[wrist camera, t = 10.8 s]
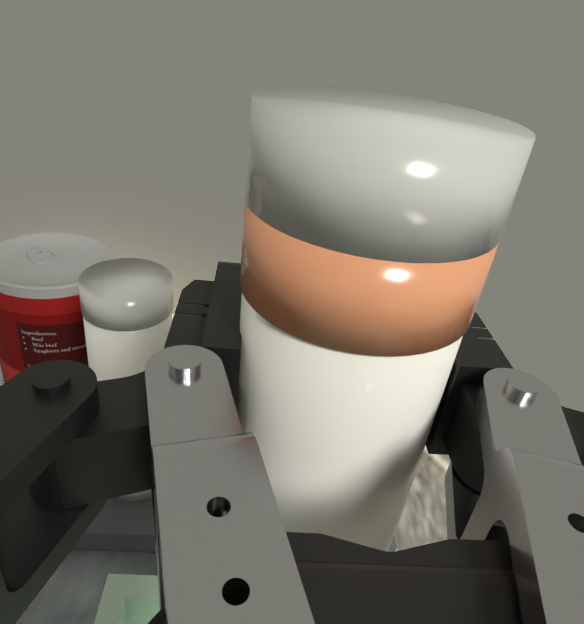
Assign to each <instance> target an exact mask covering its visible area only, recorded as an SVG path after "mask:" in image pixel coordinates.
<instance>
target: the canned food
mask: <svg viewBox="0 0 584 624" xmlns="http://www.w3.org/2000/svg"><path fill="white" fill-rule="evenodd" d="M111 259H116V256H115V254H114V251H113V250H112V249H111V248H110V247H109V246H107V245H106V244H105V243H103V242H101V241H99V240H96V239H93V238H90V237H86V236H81V235H77V234H69V233H37V234H30V235H24V236H19V237H15V238H12V239H9V240H6V241H3V242H1V243H0V364H1V369H2V373H3V377H4V381H5V383H6V382H7V381H8V380H10V379H11V378H12V377H14V376H15V375H16V374H18V373H19V372H21V371H22V370H24V369H26V368H28V367H30V366H33V365H35V364H38V363H42V362H46V361H52V360H71V361H77V362H80V363H83V364H85V365H87V366H89V365H88V356H87V347H86V339H85V330H84V321H83V315H82V313H81V306H80V297H79V288H78V277H79V275H80V274H81V272H82V271H84V270H85V269H86V268H88V267H89V266H91V265H93V264H96V263H99V262H102V261H106V260H111Z"/></svg>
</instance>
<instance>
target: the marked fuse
mask: <svg viewBox="0 0 584 624" xmlns="http://www.w3.org/2000/svg"><path fill="white" fill-rule="evenodd" d="M250 119H251V120H250V133H249V149H248V164H247V180H246V195H245V209H244V225H243V239H242V256H241V270H240V287H241V290H242V297H241V312H240V333H241V337H242V342H241V356H240V370H239V383H238V397H237V413H238V417H239V420H240V424H241V427H242V431H243V433H246V432H252V433H253V434H254V436H255V438H256V440H257V443H258V446H259V449H260V452H261V455H262V458H263V462H264V465H265V468H266V471H267V474H268V477H269V480H270V484H271V487H272V490H273V493H274V496H275V499H276V503H277V506H278V509H279V512H280V515H281V518H282V521H283V525H284V528H285V531H286V532H300V533H321V534H325V535H328V536H332V537H335V538H339V539H343V540H346V541H350V542H353V543H357V544H361V545H364V546H368V547H371V548H375V549H379V550H382V551H387V552H388V551H389V548H390V545H391V542H392V539H393V537H394V534H395V531H396V528H397V525H398V522H399V519H400V516H401V513H402V511H403V508H404V505H405V502H406V499H407V496H408V493H409V490H410V487H411V485H412V482H413V479H414V476H415V473H416V470H417V467H418V464H419V461H420V459H421V456H422V453H423V450H424V447H425V444H426V441H427V438H428V435H429V433H430V430H431V427H432V424H433V421H434V418H435V415H436V412H437V409H438V407H439V404H440V401H441V398H442V395H443V392H444V389H445V386H446V383H447V381H448V378H449V375H450V372H451V369H452V366H453V363H454V360H455V357H456V355H457V352H458V349H459V346H460V343H461V340H462V337H463V335H464V334H465V333H466V331H467V330H468V328H469V327H470V324H471V321H472V318H473V315H474V313H475V309H476V307H477V304H478V301H479V298H480V295H481V293H482V290H483V287H484V284H485V281H486V278H487V275H488V273H489V270H490V267H491V264H492V261H493V258H494V255H495V252H496V250H497V247H498V244H499V241H500V238H501V235H502V233H503V230H504V227H505V224H506V221H507V218H508V215H509V213H510V210H511V207H512V204H513V201H514V198H515V195H516V193H517V189H518V187H519V184H520V181H521V178H522V175H523V173H524V169H525V167H526V164H527V161H528V158H529V155H530V152H531V150H532V147H533V144H534V141H535V137H536V136H535V135H534V133H533V132H532V131H530V130H529V129H527V128H525V127H524V126H522V125H519V124H517V123H515V122H512V121H509V120H507V119H504V118H501V117H497V116H494V115H491V114H488V113H484V112H481V111H477V110H473V109H468V108H465V107H460V106H456V105H452V104H447V103H442V102H437V101H431V100H427V99H421V98H415V97H409V96H403V95H397V94H390V93H383V92H374V91H366V90H357V89H348V88H336V87H320V86H277V87H268V88H263V89H259V90H257V91H255V92H254V93H253V94H252V103H251V118H250Z"/></svg>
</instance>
